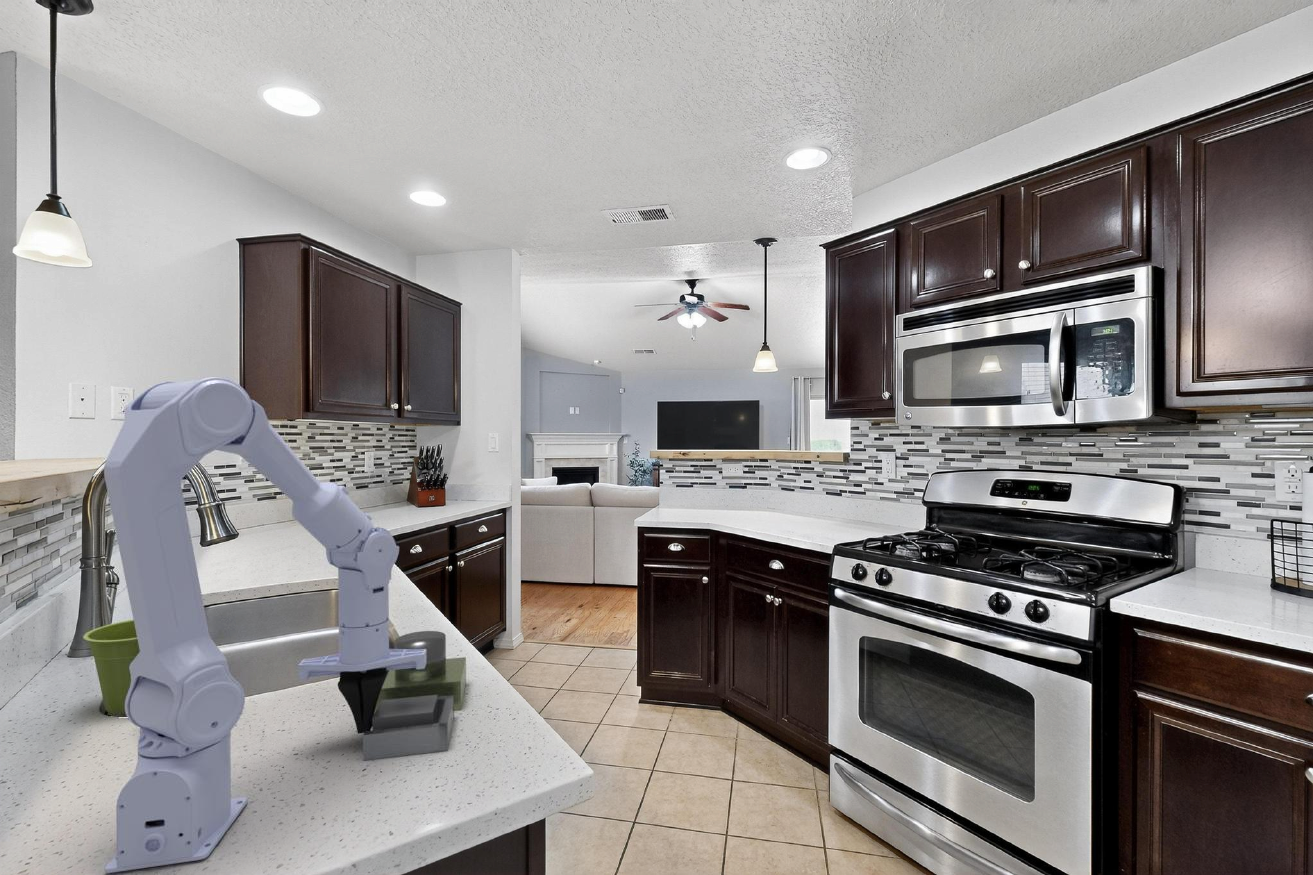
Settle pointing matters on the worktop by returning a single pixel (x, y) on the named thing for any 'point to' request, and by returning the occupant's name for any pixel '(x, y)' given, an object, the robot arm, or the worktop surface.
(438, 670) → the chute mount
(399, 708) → the grey block
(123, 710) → the plant pot
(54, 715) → the worktop surface
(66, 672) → the worktop surface
